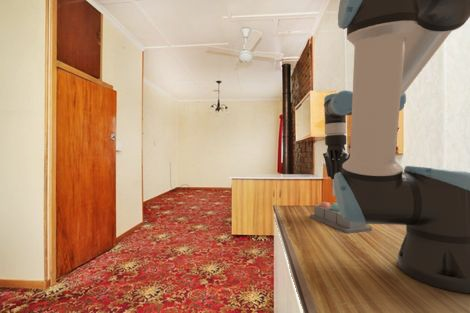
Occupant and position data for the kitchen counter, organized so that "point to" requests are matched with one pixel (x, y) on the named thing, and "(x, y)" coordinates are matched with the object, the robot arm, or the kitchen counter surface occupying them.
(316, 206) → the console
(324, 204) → the salmon button
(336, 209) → the teal button
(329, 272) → the kitchen counter surface
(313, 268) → the kitchen counter surface
